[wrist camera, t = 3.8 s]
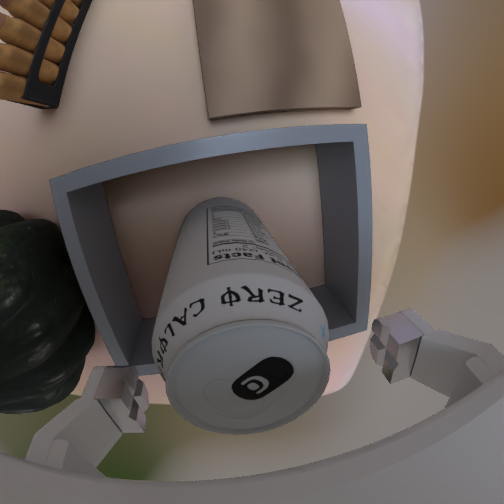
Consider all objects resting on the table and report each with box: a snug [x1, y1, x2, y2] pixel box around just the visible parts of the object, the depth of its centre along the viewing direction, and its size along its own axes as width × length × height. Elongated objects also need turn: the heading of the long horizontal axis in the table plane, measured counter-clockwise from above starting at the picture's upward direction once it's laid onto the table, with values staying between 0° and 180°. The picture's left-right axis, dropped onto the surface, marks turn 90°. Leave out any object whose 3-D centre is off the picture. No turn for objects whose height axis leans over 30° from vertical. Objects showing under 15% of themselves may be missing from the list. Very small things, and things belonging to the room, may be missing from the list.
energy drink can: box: [152, 198, 330, 435], centre depth 14 cm, size 6×6×15 cm
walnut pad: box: [193, 0, 361, 120], centre depth 16 cm, size 11×11×2 cm
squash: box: [0, 210, 95, 414], centre depth 15 cm, size 14×15×15 cm
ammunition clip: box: [0, 0, 92, 109], centre depth 8 cm, size 11×2×12 cm, turn 168°
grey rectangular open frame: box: [49, 124, 372, 376], centre depth 19 cm, size 18×14×6 cm
